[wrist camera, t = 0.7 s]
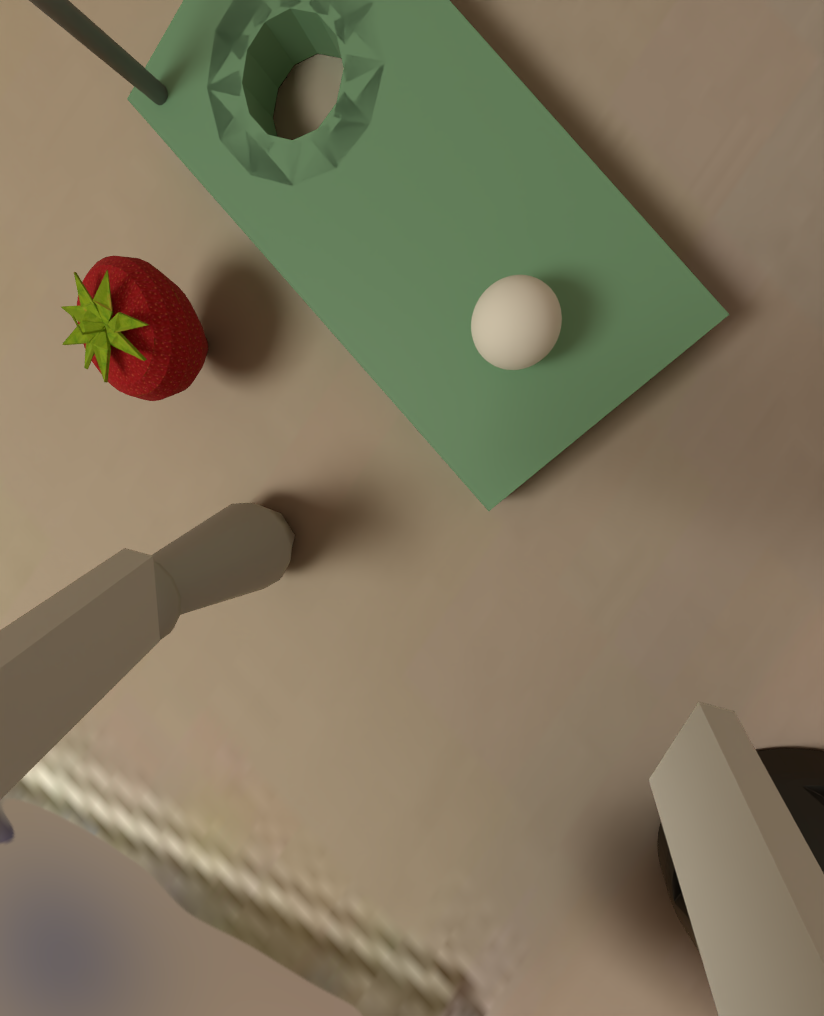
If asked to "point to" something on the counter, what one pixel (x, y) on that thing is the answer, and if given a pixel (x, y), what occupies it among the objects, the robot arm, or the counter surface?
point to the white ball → (516, 322)
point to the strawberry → (137, 328)
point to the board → (420, 214)
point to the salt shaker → (221, 560)
